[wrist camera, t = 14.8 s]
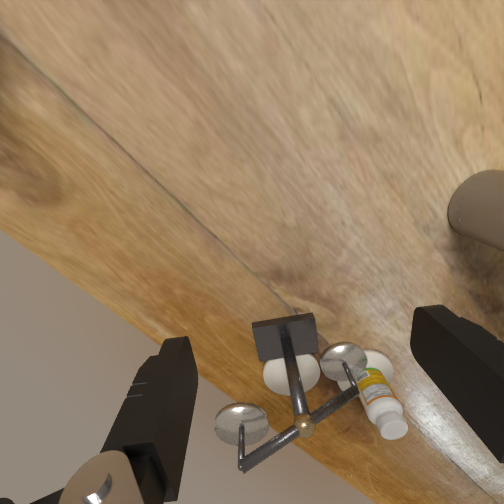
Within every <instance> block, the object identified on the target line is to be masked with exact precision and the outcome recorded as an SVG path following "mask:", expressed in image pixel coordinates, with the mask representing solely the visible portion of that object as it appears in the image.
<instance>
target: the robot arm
mask: <svg viewBox="0 0 504 504" xmlns="http://www.w3.org/2000/svg"><path fill="white" fill-rule="evenodd" d="M448 217H449V222H450V224H451V226H452V227H453V228H454V229H455V230H456V231H457V232H459V233H460V234H463V235H465V236H468V237H470V238H473V239H475V240H478V241H480V242H482V243H485V244H487V245H490V246H492V247H495V248H497V249H499V250H502V251H504V171H500V170H487V171H483V172H480V173H477V174H475V175H473V176H472V177H470V178H469V179H467V180H466V181H465V182H464V183H463V184H462V185H461V186H460V187H459V188H458V189H457V190H456V192H455V193H454V195H453V197H452V199H451V201H450V205H449V209H448ZM410 347H411V351H412V354H413V356H414V358H415V360H416V361H417V362H418V364H419V365H420V366H421V367H422V368H423V370H424V371H425V372H426V373H427V375H428V376H429V377H430V378H431V379H432V381H433V382H434V383H435V384H436V385H437V387H438V388H439V389H440V390H441V392H442V393H443V394H444V395H445V396H446V398H447V399H448V400H449V401H450V403H451V404H452V405H453V406H454V407H455V409H456V410H457V411H458V412H459V413H460V415H461V416H462V417H463V418H464V420H465V421H466V422H467V423H468V424H469V426H470V427H471V428H472V429H473V431H474V432H475V433H476V434H477V435H478V437H479V438H480V439H481V440H482V441H483V443H484V444H485V445H486V446H487V448H488V449H489V450H490V451H491V452H492V454H493V455H494V456H495V457H496V459H497V460H498V461H499V462H500V463H504V343H503V342H501V341H500V340H499V341H498V340H497V338H496V337H495V336H493V335H492V334H491V333H489V332H488V331H487V330H485V329H484V328H483V327H481V326H479V325H477V324H475V323H473V322H471V321H469V320H466V319H464V318H462V317H460V318H459V317H458V316H457V315H455V314H454V313H453V312H451V311H450V310H449V309H448V308H446V307H445V306H443V305H432V306H424V307H417V308H416V309H415V310H414V315H413V323H412V331H411V339H410ZM132 384H133V385H132V386H131V387H130V390H129V391H128V394H127V398H126V399H125V400H124V402H123V405H122V406H121V409H120V411H119V413H118V415H117V418H116V419H115V422H114V424H113V426H112V428H111V431H110V432H109V435H108V437H107V439H106V441H105V443H104V446H103V448H102V450H101V451H100V453H99V455H96V456H95V457H93V458H91V459H90V460H88V461H87V462H86V463H85V464H84V465H82V466H81V467H80V468H79V469H78V470H77V471H76V472H75V474H74V475H73V476H72V478H71V479H70V480H69V482H68V483H67V485H66V486H65V487H64V488H62V489H61V490H59V491H56V492H54V493H52V494H50V495H48V496H46V497H43V498H41V499H39V500H37V501H35V502H33V503H30V504H163V503H164V502H171V501H177V498H178V493H179V488H180V482H181V477H182V471H183V465H184V460H185V455H186V449H187V444H188V438H189V433H190V427H191V422H192V416H193V410H194V405H195V399H196V393H197V388H198V371H197V366H196V363H195V359H194V355H193V352H192V348H191V344H190V341H189V338H188V337H187V336H184V337H177V338H169V339H165V340H164V342H163V344H162V347H161V350H160V352H159V355H156V356H150V357H149V358H148V359H147V360H146V362H145V363H144V364H143V365H142V366H141V367H140V368H139V370H138V372H137V374H136V377H135V378H134V381H133V383H132ZM0 504H14V503H13V501H12V500H10V499H8V498H0Z"/></svg>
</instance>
